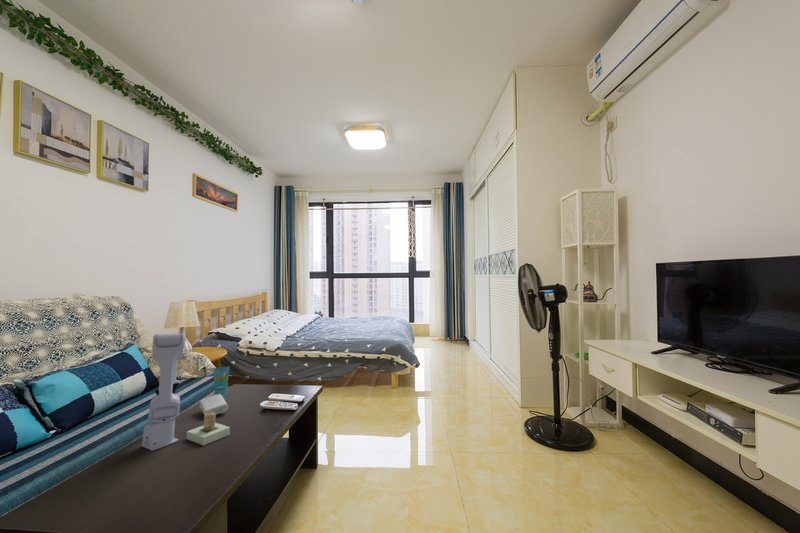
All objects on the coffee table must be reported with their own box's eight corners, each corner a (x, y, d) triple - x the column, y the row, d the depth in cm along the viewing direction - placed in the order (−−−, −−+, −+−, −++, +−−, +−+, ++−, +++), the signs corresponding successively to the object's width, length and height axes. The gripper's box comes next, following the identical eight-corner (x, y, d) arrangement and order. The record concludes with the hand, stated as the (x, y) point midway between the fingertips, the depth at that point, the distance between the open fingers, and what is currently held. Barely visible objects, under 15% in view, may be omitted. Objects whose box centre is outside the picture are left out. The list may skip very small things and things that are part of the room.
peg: (206, 439, 131) (208, 416, 132) (200, 437, 133) (202, 414, 133) (216, 436, 134) (217, 413, 135) (210, 433, 136) (211, 411, 137)
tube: (212, 408, 164) (213, 368, 167) (211, 406, 168) (213, 367, 171) (228, 405, 168) (230, 366, 171) (227, 403, 172) (229, 365, 175)
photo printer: (228, 410, 159) (221, 398, 168) (228, 403, 158) (220, 390, 167) (204, 419, 152) (198, 406, 161) (204, 411, 151) (197, 398, 160)
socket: (203, 445, 126) (203, 437, 126) (186, 439, 131) (187, 431, 131) (229, 434, 136) (230, 427, 136) (212, 429, 141) (213, 421, 141)
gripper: (173, 374, 137) (171, 408, 136) (184, 366, 151) (182, 397, 150) (153, 375, 135) (151, 409, 134) (166, 367, 149) (164, 398, 148)
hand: (166, 403), depth 142 cm, fingers open, 7 cm apart
